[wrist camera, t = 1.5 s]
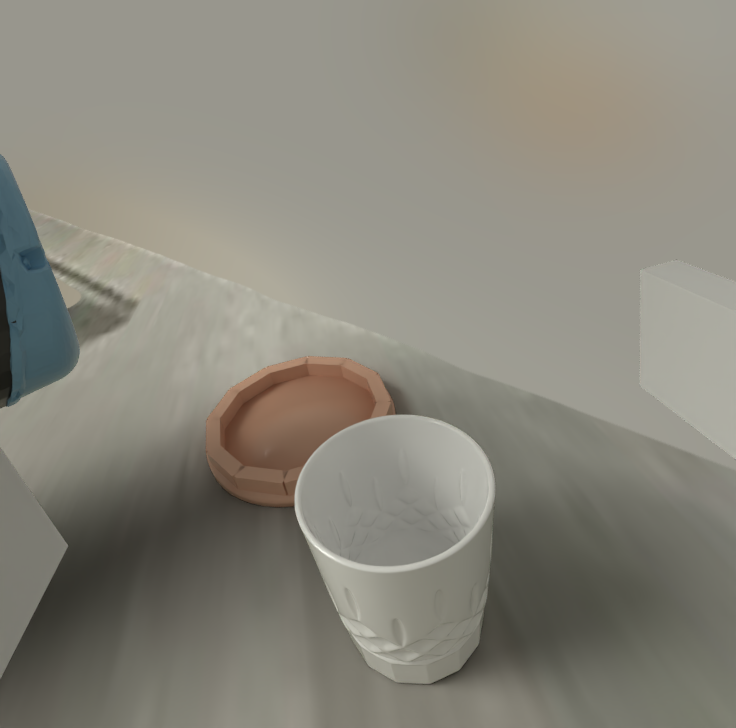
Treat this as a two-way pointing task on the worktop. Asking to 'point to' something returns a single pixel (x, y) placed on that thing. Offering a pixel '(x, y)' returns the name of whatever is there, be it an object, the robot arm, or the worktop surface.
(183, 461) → the worktop surface
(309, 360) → the saucer
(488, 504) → the white cup
